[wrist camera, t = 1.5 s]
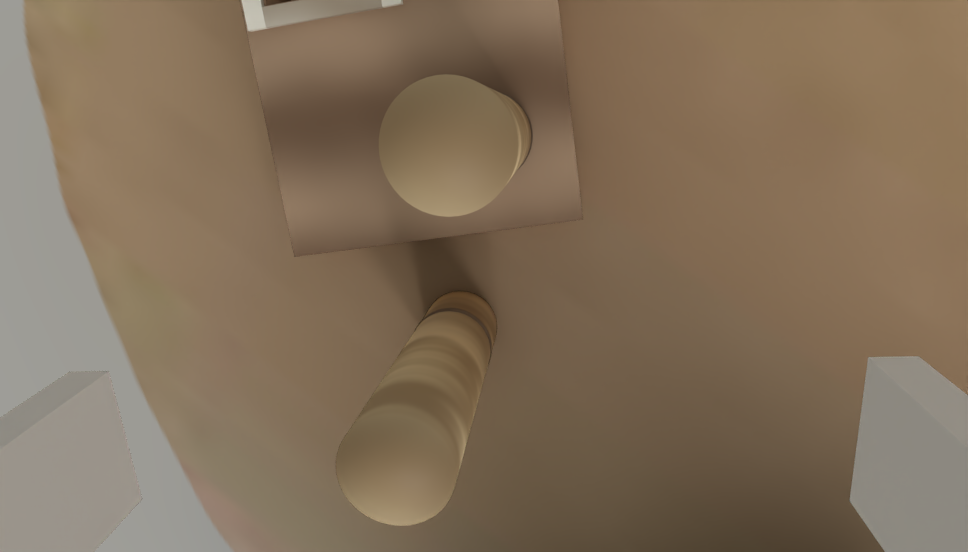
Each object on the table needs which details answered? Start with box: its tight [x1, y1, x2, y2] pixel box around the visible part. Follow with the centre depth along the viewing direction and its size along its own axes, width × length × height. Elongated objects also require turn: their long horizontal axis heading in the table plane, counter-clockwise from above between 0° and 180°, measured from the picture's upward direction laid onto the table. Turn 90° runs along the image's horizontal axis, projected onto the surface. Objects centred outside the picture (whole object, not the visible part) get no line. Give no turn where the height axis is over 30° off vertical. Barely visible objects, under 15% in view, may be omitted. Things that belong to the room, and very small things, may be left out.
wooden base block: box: [240, 0, 583, 257], centre depth 23 cm, size 18×13×14 cm
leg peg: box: [336, 291, 497, 526], centre depth 26 cm, size 4×4×14 cm
